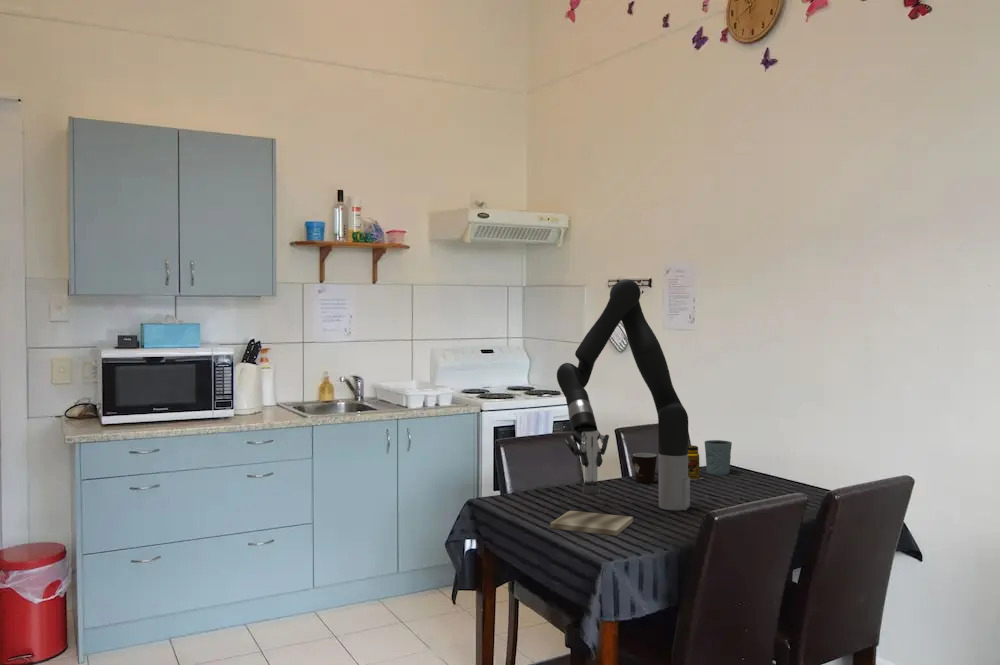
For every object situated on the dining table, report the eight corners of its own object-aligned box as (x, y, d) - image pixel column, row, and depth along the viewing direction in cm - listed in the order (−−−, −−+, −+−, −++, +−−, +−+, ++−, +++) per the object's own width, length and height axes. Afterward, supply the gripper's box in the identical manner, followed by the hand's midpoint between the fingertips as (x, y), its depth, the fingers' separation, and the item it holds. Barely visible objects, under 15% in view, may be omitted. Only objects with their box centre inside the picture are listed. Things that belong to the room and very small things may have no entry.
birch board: (632, 521, 238) (632, 516, 237) (616, 535, 223) (616, 530, 223) (569, 515, 246) (569, 510, 246) (550, 528, 232) (550, 523, 232)
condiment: (688, 480, 294) (688, 448, 294) (675, 476, 302) (675, 444, 302) (705, 478, 297) (704, 446, 297) (691, 474, 305) (691, 443, 305)
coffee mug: (659, 484, 288) (658, 457, 288) (635, 484, 288) (634, 457, 288) (653, 477, 300) (653, 451, 300) (630, 478, 300) (630, 451, 300)
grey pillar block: (597, 490, 237) (596, 430, 237) (601, 494, 232) (601, 432, 232) (580, 491, 236) (580, 430, 236) (585, 494, 232) (585, 433, 231)
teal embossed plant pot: (705, 475, 304) (705, 443, 304) (703, 469, 314) (703, 439, 314) (733, 475, 302) (733, 444, 302) (730, 470, 312) (730, 439, 312)
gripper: (561, 411, 240) (572, 458, 228) (606, 409, 242) (619, 457, 231) (557, 426, 245) (567, 473, 234) (601, 424, 248) (613, 471, 236)
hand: (593, 465), depth 232 cm, fingers closed on grey pillar block, 3 cm apart
